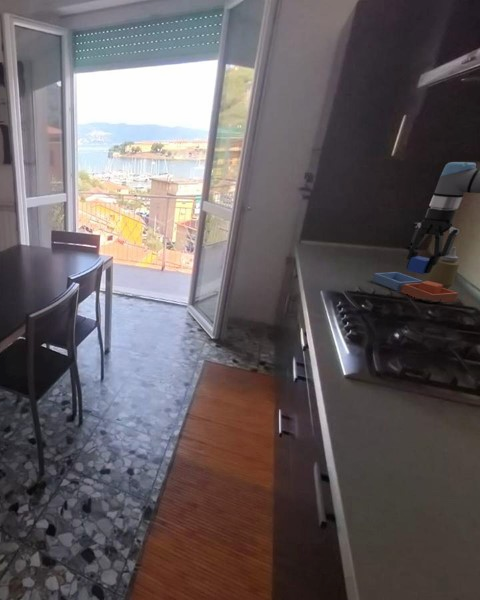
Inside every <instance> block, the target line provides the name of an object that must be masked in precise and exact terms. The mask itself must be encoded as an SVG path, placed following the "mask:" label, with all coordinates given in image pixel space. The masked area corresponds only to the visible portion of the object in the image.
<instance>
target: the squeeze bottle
mask: <svg viewBox="0 0 480 600" xmlns="http://www.w3.org/2000/svg"><path fill="white" fill-rule="evenodd" d="M456 254H457V247H456V246H452V247H451V250H450V252H449V254H448V255H447V256H441V257H440V258H439V261H438V263H437V264H436V265H433V267H432V269H431V271H430V273H428V275H427V277H426V281H431V282H435V283H439V284H442V285H443V287H442V288H445V289H448V290H449V289H450V287H452V286H453V285H454V282H455V279H456V275H457V273H458V269H459V266H460V263H459V262H458V260H459V256H457V255H456Z"/></svg>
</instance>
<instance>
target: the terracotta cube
mask: <svg viewBox="0 0 480 600" xmlns="http://www.w3.org/2000/svg"><path fill="white" fill-rule="evenodd" d="M442 287H443V285H442V284H439V283H435V282H431V281H427V280H425V281H424V280H423V282H421V283H420V285H419V288H418V289H420V290H423V291H426V292H428V293H431V294H439V293H440V291H441V289H442Z"/></svg>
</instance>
